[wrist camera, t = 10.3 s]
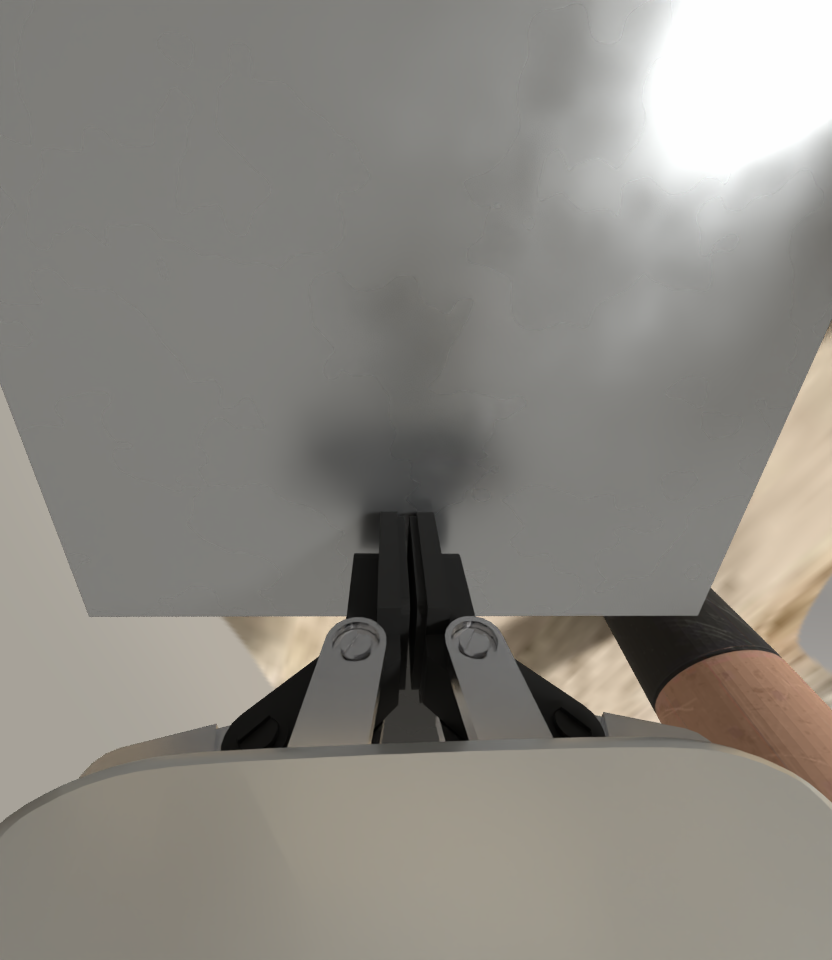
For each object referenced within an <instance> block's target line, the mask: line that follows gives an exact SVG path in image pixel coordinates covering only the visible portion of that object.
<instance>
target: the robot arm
mask: <svg viewBox="0 0 832 960" xmlns="http://www.w3.org/2000/svg"><path fill="white" fill-rule="evenodd" d="M408 644H409V662H410V680H411V690H419V703H423V704H424V705H425V706H426V707H427V708H428V709H429V710H430V711H432V712H433V713H434V714H435V723H436V728H437V732H438V736H439V740H440V742H418V743H390V744H381V743H382V737H383V730H384V719H385V718H386V717H387V716H388V715H389V714H390V713H391V712H392V711H393V710H394V709H395V708H396V707H397V706H398V701H399V690H405V686H406V670H407V654H408ZM0 960H832V802H830V801H829V800H828V799H827V798H826V797H825V796H824V795H823V794H822V793H820V792H819V791H818V790H817V789H816V788H814V787H813V786H812V785H811V784H810V783H808V782H807V781H805V780H804V779H802V778H801V777H799V776H798V775H796V774H794V773H793V772H791V771H789V770H787V769H785V768H783V767H781V766H779V765H777V764H775V763H773V762H770V761H768V760H766V759H763V758H761V757H758V756H755V755H753V754H750V753H747V752H744V751H741V750H738V749H735V748H732V747H728V746H723V745H719V744H715V743H712V742H711V741H709V740H708V739H706V738H705V737H703V736H702V735H700V734H699V733H697V732H694V731H691V730H688V729H686V728H681V727H676V726H670V725H665V724H660V723H655V722H650V721H645V720H640V719H635V718H630V717H625V716H620V715H615V714H610V713H605V712H603V715H602V717H601V716H596V715H594V714H593V713H592V712H591V711H590V710H589V709H587V708H586V707H585V706H584V705H583V704H581V703H580V702H578V701H577V700H575V699H574V698H572V697H571V696H569V695H568V694H566V693H565V692H563V691H562V690H560V689H559V688H557V687H556V686H554V685H553V684H551V683H550V682H548V681H547V680H545V679H544V678H542V677H541V676H539V675H538V674H536V673H535V672H533V671H532V670H530V669H529V668H527V667H526V666H524V665H523V664H522V663H520V662H519V661H517V660H516V659H514V657H513V655H512V653H511V651H510V649H509V647H508V645H507V643H506V641H505V639H504V637H503V635H502V634H501V632H500V631H499V629H498V628H497V627H496V626H495V625H493V624H492V623H491V622H489V621H487V620H485V619H483V618H479V617H475V613H474V609H473V605H472V601H471V597H470V593H469V589H468V585H467V581H466V577H465V573H464V569H463V565H462V561H461V557H460V555H459V554H442V553H441V547H440V542H439V537H438V531H437V526H436V521H435V515H434V512H416V516H409V530H408V548H407V549H406V534H405V519H404V516H398V512H394V511H380V533H379V553H354V557H353V565H352V574H351V582H350V591H349V599H348V608H347V617H346V619H345V620H343V621H341V622H339V623H337V624H336V625H335V626H334V627H333V628H332V629H331V630H330V631H329V633H328V634H327V636H326V638H325V641H324V644H323V647H322V650H321V653H320V655H319V657H318V658H316V659H315V660H314V661H312V662H311V663H310V664H308V665H307V666H306V667H304V668H303V669H302V670H300V671H299V672H298V673H296V674H295V675H294V676H292V677H291V678H290V679H288V680H287V681H286V682H284V683H283V684H282V685H280V686H279V687H278V688H276V689H275V690H274V691H272V692H271V693H270V694H268V695H267V696H266V697H265V698H263V699H262V700H260V701H259V702H258V703H256V704H255V705H254V706H252V707H251V708H250V709H248V710H247V711H246V712H244V713H243V714H242V715H240V716H239V717H238V718H237V719H236V720H235V721H234V722H233V723H232V724H231V725H230V726H226V727H222V728H218V727H217V724H214V725H210V726H206V727H202V728H198V729H194V730H190V731H186V732H182V733H178V734H174V735H169V736H165V737H161V738H157V739H153V740H149V741H145V742H141V743H137V744H133V745H130V746H125V747H121V748H119V749H116V750H114V751H111V752H109V753H106V754H105V755H103V756H102V757H100V758H99V759H97V760H96V761H95V762H93V763H92V764H91V765H90V766H89V767H88V768H87V769H86V770H85V771H84V773H83V774H82V775H81V776H80V777H79V779H77V780H74V781H72V782H70V783H67V784H65V785H63V786H60V787H58V788H56V789H54V790H52V791H50V792H48V793H46V794H44V795H42V796H40V797H38V798H37V799H35V800H33V801H31V802H30V803H28V804H26V805H24V806H23V807H22V808H20V809H19V810H17V811H16V812H14V813H13V814H11V815H10V816H9V817H7V818H6V819H5V820H4V821H3V822H1V823H0Z"/></svg>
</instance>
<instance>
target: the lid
mask: <svg viewBox="0 0 832 960" xmlns="http://www.w3.org/2000/svg"><path fill="white" fill-rule="evenodd" d="M831 320H832V0H0V384H1V387H2V390H3V392H4V395H5V397H6V400H7V402H8V405H9V408H10V410H11V413H12V416H13V418H14V421H15V423H16V426H17V429H18V431H19V434H20V436H21V439H22V442H23V445H24V447H25V450H26V452H27V455H28V458H29V460H30V463H31V465H32V468H33V470H34V473H35V476H36V479H37V481H38V484H39V486H40V489H41V492H42V494H43V497H44V499H45V502H46V505H47V507H48V510H49V513H50V515H51V518H52V520H53V523H54V526H55V528H56V531H57V534H58V536H59V539H60V541H61V544H62V546H63V549H64V552H65V555H66V557H67V560H68V562H69V565H70V568H71V570H72V573H73V575H74V578H75V581H76V583H77V586H78V588H79V591H80V594H81V596H82V598H83V602H84V604H85V607H86V610H87V612H88V614H89V616H90V617H94V616H95V617H99V616H101V617H103V616H105V617H107V616H108V617H110V616H111V617H115V616H116V617H122V616H123V617H124V616H126V617H127V616H347V608H348V599H349V591H350V582H351V574H352V565H353V557H354V553H379V533H380V511H394V512H398V516H404V519H405V534H406V549H407V548H408V530H409V516H416V512H434V515H435V521H436V526H437V531H438V537H439V542H440V547H441V553H442V554H459V555H460V557H461V561H462V565H463V569H464V573H465V577H466V581H467V585H468V589H469V593H470V597H471V601H472V605H473V609H474V613H475V616H698V614H699V612H700V610H701V607H702V605H703V603H704V601H705V599H706V596H707V594H708V592H709V590H710V588H711V585H712V583H713V581H714V579H715V576H716V574H717V572H718V570H719V568H720V565H721V563H722V561H723V559H724V557H725V554H726V552H727V550H728V548H729V546H730V543H731V541H732V539H733V537H734V534H735V532H736V530H737V528H738V526H739V523H740V521H741V519H742V517H743V515H744V512H745V510H746V508H747V506H748V503H749V501H750V499H751V497H752V495H753V492H754V490H755V488H756V486H757V484H758V481H759V479H760V477H761V475H762V473H763V470H764V468H765V466H766V464H767V461H768V459H769V457H770V455H771V453H772V450H773V448H774V446H775V444H776V442H777V439H778V437H779V435H780V433H781V430H782V428H783V426H784V424H785V422H786V419H787V417H788V415H789V413H790V411H791V408H792V406H793V404H794V402H795V400H796V397H797V395H798V393H799V391H800V388H801V386H802V384H803V382H804V380H805V377H806V375H807V373H808V371H809V369H810V366H811V364H812V362H813V360H814V357H815V355H816V353H817V351H818V349H819V346H820V344H821V342H822V340H823V338H824V335H825V333H826V331H827V329H828V326H829V324H830V322H831ZM418 742H440V740H439V736H438V732H437V728H436V723H435V714H434V713H433V712H432V711H430V710H429V709H428V708H427V707H426V706H425V705H424V704H423V703H419V690H411V680H410V662H409V644H408V654H407V670H406V686H405V690H399V701H398V706H397V707H396V708H395V709H394V710H393V711H392V712H391V713H390V714H389V715H388V716H387V717H386V718H385V719H384V730H383V737H382V743H381V744H390V743H418Z"/></svg>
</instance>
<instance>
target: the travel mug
mask: <svg viewBox="0 0 832 960" xmlns="http://www.w3.org/2000/svg"><path fill="white" fill-rule="evenodd" d="M604 618H605V620H606V622H607V624H608V626H609V627H610V629H611V631H612V633H613V635H614V637H615V639H616V640H617V642H618V644H619V646H620V648H621V650H622V652H623V653H624V655H625V657H626V659H627V661H628V663H629V665H630V666H631V668H632V670H633V672H634V674H635V676H636V678H637V679H638V681H639V683H640V685H641V687H642V689H643V691H644V692H645V694H646V696H647V698H648V700H649V702H650V704H651V705H652V707H653V709H654V711H655V713H656V714H657V716H658V718H659V720H660V722H661V723H662V724H665V725H670V726H676V727H681V728H686V729H688V730H691V731H694V732H697V733H699V734H700V735H702V736H703V737H705V738H706V739H708V740H709V741H711V742H712V743H715V744H719V745H723V746H728V747H732V748H735V749H738V750H741V751H744V752H747V753H750V754H753V755H755V756H758V757H761V758H763V759H766V760H768V761H770V762H773V763H775V764H777V765H779V766H781V767H783V768H785V769H787V770H789V771H791V772H793V773H794V774H796V775H798V776H799V777H801V778H802V779H804V780H805V781H807V782H808V783H810V784H811V785H812V786H813V787H814V788H816V789H817V790H818V791H819V792H820V793H822V794H823V795H824V796H825V797H826V798H827V799H828V800H829V801H830V802H832V710H831V709H830V708H829V707H828V705H827V704H826V703H825V702H824V701H823V700H822V699H821V698H820V697H819V696H818V695H817V694H816V693H815V692H814V691H813V690H812V689H811V688H810V687H809V686H808V684H807V683H806V682H805V681H804V680H803V679H802V678H801V677H800V676H799V675H798V674H797V673H796V672H795V671H794V670H793V669H792V668H791V667H790V666H789V665H788V663H787V662H786V661H785V660H783V659H782V658H781V657H780V656H779V654H778V653H777V652H776V651H775V650H774V649H773V648H772V647H771V646H770V645H768V644H767V643H766V642H765V641H764V640H763V639H762V638H761V637H760V636H759V635H758V634H757V633H756V632H755V631H754V630H753V629H752V628H751V627H750V626H749V625H748V624H747V623H746V622H745V621H744V620H743V619H742V618H741V617H740V616H739V615H738V614H737V613H736V612H735V611H734V610H733V609H732V608H731V607H730V606H729V605H728V604H727V603H726V602H725V601H724V600H723V599H722V598H721V597H719V596H718V595H717V594H716V593H715V592H714V591H713V590H712V589H711V588H710V590H709V592H708V594H707V596H706V599H705V601H704V603H703V605H702V607H701V610H700V612H699V614H698V616H604Z"/></svg>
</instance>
